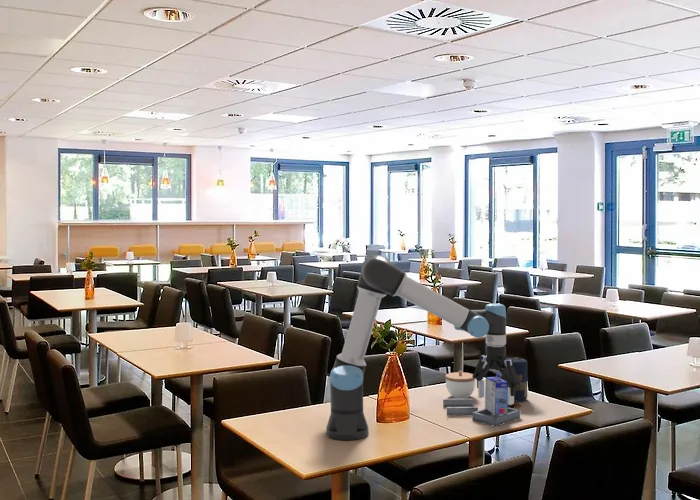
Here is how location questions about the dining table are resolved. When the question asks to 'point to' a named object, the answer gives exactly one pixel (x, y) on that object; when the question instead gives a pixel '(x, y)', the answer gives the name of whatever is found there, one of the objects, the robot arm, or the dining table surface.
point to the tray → (495, 416)
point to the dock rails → (459, 406)
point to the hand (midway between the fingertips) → (495, 400)
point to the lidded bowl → (460, 384)
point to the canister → (520, 378)
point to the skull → (515, 405)
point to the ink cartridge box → (496, 395)
